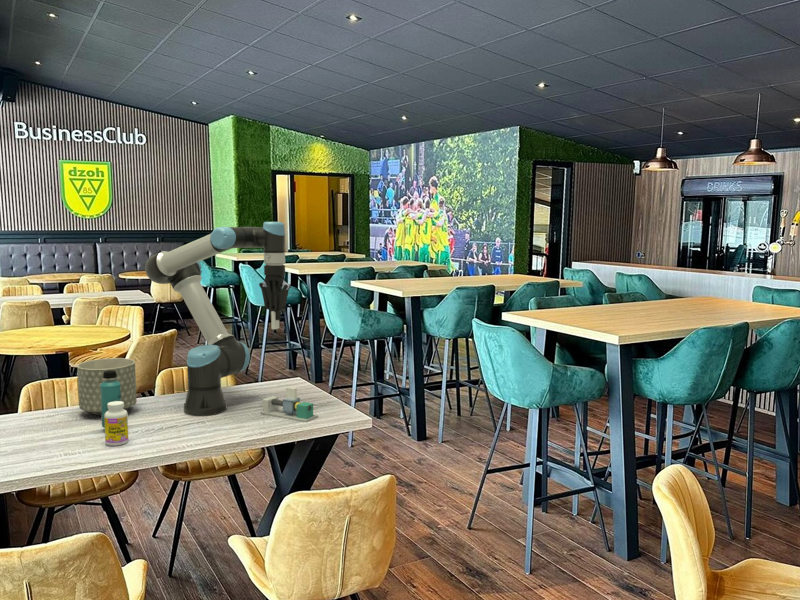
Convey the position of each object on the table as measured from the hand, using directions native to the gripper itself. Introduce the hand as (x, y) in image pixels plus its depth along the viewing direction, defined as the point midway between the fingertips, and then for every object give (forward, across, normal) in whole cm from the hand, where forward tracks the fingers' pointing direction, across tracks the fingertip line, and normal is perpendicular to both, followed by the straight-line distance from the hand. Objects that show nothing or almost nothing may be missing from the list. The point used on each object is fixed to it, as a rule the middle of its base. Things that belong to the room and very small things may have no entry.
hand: (275, 328), depth 239 cm
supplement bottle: (+31, -20, -54) cm, 65 cm away
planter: (+31, -50, -33) cm, 68 cm away
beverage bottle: (+31, -32, -46) cm, 64 cm away
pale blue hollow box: (+29, +10, -4) cm, 31 cm away
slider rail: (+30, +9, -4) cm, 32 cm away
